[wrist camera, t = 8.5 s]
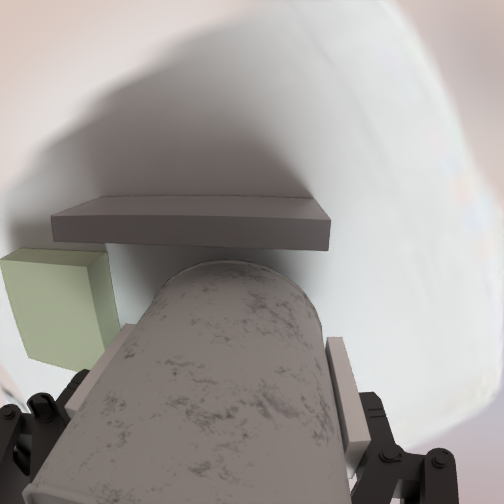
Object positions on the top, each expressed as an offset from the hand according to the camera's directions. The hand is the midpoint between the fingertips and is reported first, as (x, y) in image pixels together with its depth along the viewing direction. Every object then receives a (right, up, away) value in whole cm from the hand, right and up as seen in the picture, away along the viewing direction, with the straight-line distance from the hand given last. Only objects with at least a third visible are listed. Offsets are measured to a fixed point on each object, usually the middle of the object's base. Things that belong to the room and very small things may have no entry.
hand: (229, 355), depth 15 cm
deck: (-12, +2, +4) cm, 12 cm away
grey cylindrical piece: (0, 0, +1) cm, 1 cm away
